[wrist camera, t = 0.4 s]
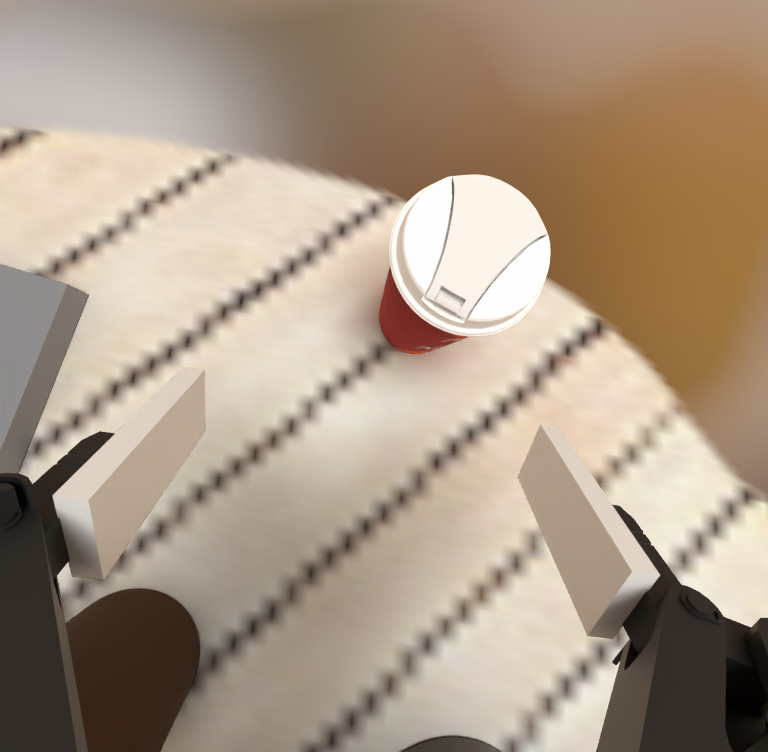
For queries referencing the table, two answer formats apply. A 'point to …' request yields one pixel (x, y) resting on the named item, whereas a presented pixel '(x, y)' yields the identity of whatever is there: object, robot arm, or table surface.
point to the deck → (30, 353)
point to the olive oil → (132, 668)
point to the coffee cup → (462, 263)
